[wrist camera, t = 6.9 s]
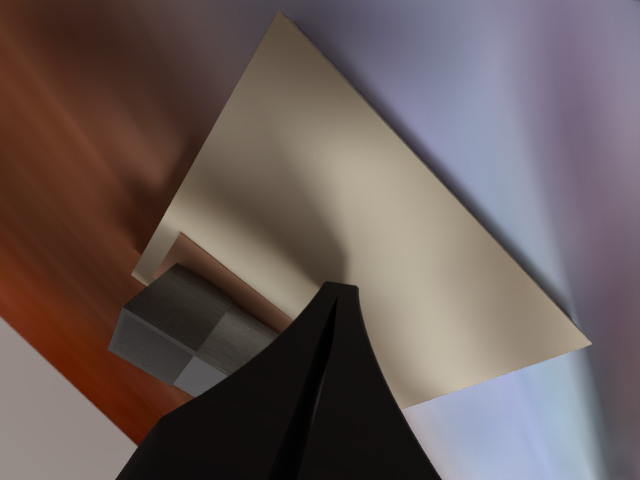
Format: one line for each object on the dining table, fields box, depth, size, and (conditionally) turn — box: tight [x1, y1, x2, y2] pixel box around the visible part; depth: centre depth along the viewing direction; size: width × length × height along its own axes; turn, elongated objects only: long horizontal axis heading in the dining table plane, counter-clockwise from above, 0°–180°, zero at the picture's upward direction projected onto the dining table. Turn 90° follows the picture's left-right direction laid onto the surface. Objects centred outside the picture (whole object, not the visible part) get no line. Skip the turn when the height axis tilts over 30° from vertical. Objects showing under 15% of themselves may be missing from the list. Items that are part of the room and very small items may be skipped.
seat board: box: [131, 10, 592, 410], centre depth 13 cm, size 14×16×1 cm
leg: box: [108, 263, 321, 401], centre depth 12 cm, size 12×4×3 cm, turn 55°
